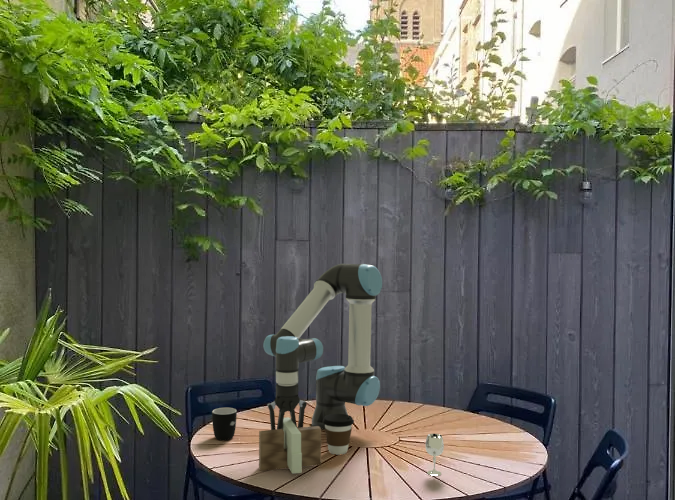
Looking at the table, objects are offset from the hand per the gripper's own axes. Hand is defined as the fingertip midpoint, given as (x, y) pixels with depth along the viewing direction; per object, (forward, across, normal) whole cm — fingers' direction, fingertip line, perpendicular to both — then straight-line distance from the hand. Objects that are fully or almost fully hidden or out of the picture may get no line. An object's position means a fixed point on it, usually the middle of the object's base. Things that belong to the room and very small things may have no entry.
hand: (286, 452), depth 205 cm
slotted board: (+3, 0, +6) cm, 6 cm away
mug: (+3, +17, -30) cm, 35 cm away
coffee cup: (+3, -19, -4) cm, 20 cm away
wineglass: (+3, -43, +24) cm, 49 cm away
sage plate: (+1, 0, +6) cm, 6 cm away
